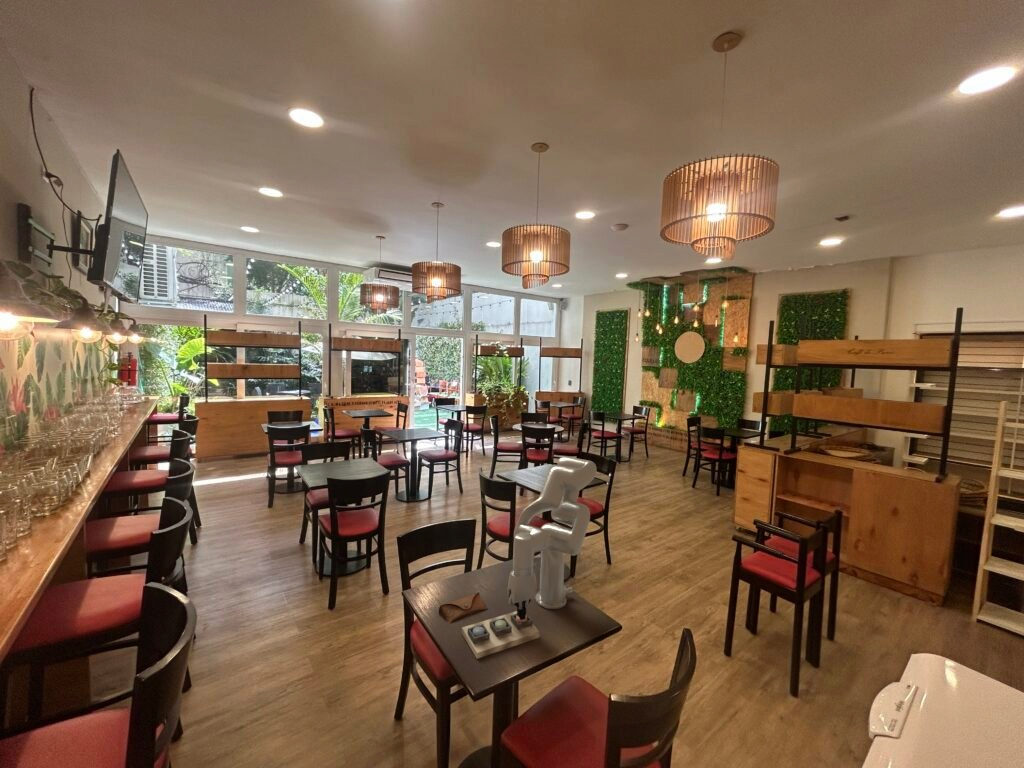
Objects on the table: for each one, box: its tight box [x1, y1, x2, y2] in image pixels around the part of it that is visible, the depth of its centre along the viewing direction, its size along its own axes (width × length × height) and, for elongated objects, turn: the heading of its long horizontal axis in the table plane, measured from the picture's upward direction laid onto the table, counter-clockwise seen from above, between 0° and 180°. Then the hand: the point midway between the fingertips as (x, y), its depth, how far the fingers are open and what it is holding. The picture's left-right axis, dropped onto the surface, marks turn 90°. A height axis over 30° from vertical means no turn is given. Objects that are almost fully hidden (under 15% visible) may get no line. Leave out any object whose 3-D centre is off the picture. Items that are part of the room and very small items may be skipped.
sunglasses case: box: [438, 592, 489, 624], centre depth 161 cm, size 18×7×7 cm, turn 126°
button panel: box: [461, 610, 541, 659], centre depth 147 cm, size 24×14×4 cm, turn 118°
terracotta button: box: [516, 616, 527, 623], centre depth 151 cm, size 4×4×2 cm
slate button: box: [473, 627, 484, 637], centre depth 143 cm, size 4×4×2 cm
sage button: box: [495, 620, 506, 630], centre depth 147 cm, size 4×4×2 cm
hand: (521, 617), depth 151 cm, fingers closed
